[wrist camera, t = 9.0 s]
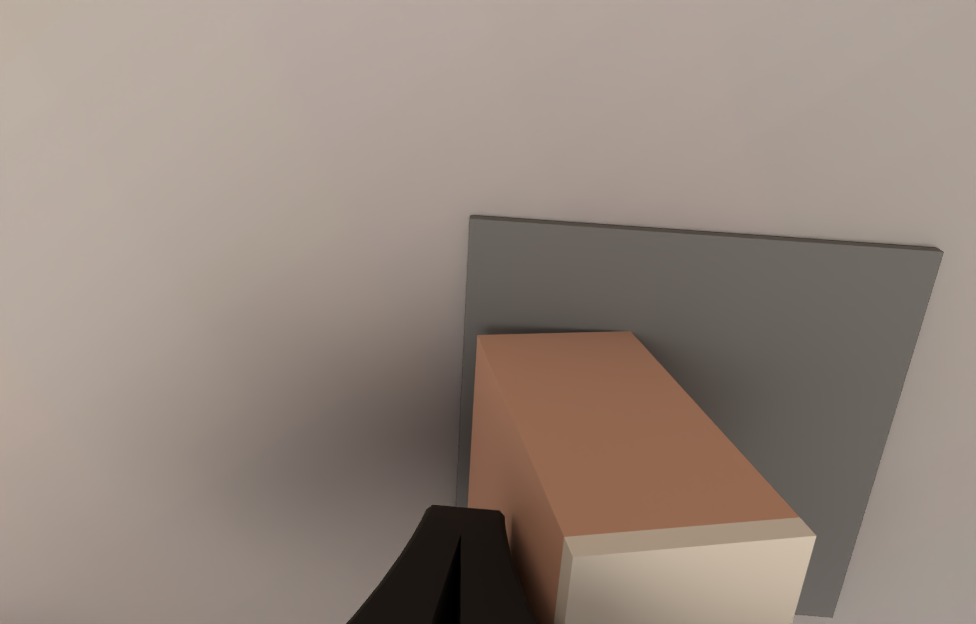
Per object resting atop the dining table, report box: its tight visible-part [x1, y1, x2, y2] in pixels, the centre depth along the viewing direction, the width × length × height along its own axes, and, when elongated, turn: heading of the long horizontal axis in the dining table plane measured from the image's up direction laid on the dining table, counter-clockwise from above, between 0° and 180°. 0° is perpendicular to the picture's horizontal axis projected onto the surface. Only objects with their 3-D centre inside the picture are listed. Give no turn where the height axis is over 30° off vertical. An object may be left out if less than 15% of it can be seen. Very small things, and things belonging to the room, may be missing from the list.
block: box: [468, 331, 816, 624], centre depth 14 cm, size 5×4×7 cm
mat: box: [456, 215, 944, 618], centre depth 17 cm, size 10×10×1 cm
